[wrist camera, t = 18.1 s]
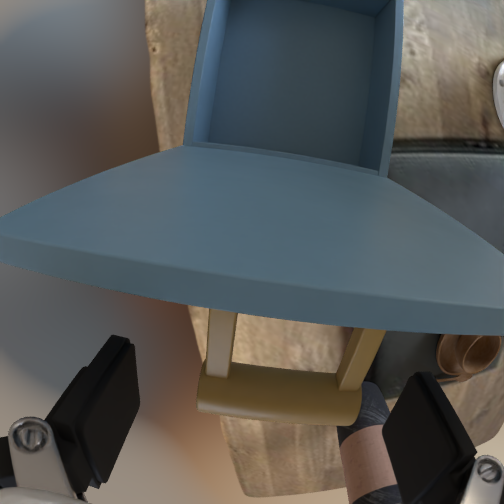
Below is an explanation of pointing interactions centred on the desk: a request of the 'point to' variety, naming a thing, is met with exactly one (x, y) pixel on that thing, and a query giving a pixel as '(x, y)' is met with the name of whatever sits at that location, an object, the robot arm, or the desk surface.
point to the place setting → (465, 354)
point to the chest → (299, 80)
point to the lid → (267, 263)
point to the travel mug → (368, 453)
